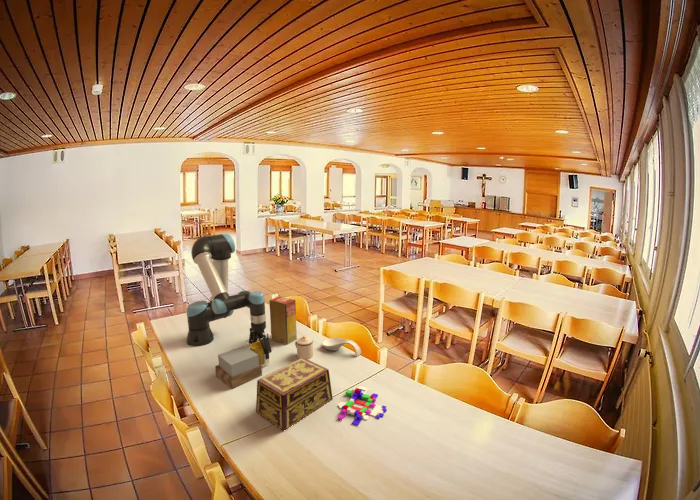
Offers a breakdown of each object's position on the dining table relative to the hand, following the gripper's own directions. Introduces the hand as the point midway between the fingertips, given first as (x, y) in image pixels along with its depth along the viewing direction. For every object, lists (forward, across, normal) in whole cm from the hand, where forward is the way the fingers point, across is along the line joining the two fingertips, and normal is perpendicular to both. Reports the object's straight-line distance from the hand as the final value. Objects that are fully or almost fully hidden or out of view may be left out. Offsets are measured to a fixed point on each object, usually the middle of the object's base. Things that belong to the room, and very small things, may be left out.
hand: (260, 360), depth 196 cm
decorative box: (+1, +43, -11) cm, 45 cm away
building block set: (+2, +65, +8) cm, 66 cm away
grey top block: (-5, +4, -15) cm, 16 cm away
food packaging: (+1, -13, +25) cm, 28 cm away
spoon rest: (+1, +22, +38) cm, 44 cm away
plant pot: (+1, 0, 0) cm, 1 cm away
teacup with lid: (+1, +11, +20) cm, 23 cm away
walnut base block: (+1, +4, -15) cm, 16 cm away
